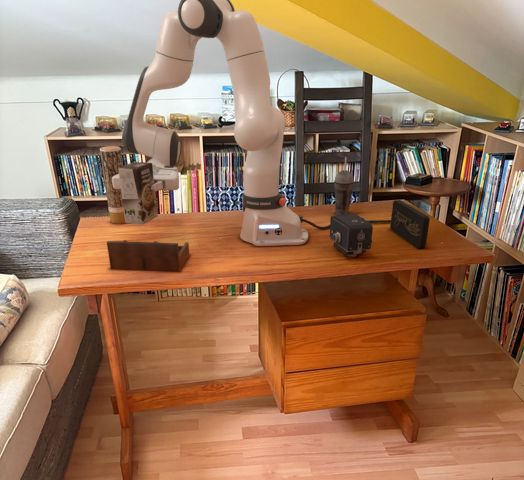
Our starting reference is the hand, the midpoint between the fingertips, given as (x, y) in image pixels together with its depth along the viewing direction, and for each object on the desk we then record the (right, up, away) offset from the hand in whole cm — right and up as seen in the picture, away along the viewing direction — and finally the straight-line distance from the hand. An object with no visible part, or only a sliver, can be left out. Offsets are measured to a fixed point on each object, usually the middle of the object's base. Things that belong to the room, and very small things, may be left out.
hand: (139, 188), depth 158 cm
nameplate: (+83, -12, +17) cm, 86 cm away
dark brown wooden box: (+4, -22, 0) cm, 22 cm away
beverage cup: (+66, +3, +41) cm, 78 cm away
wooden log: (-14, -2, +34) cm, 37 cm away
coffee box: (0, -8, +5) cm, 10 cm away
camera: (+63, -18, +6) cm, 66 cm away
